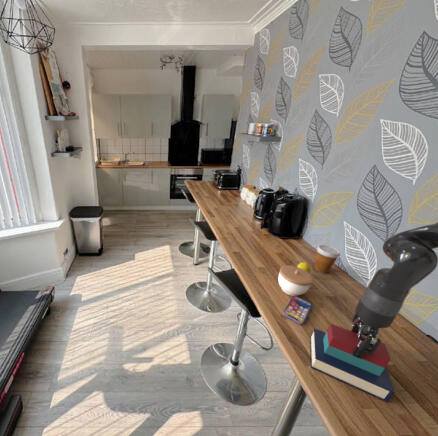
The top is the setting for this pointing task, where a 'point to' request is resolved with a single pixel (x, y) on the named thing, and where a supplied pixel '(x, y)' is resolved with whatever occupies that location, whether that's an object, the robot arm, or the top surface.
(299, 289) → the lidded bowl
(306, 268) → the lemon
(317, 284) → the top surface
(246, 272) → the top surface
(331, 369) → the big book
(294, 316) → the smartphone
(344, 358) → the teal rectangular block
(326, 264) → the disposable coffee cup
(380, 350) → the red rectangular block
